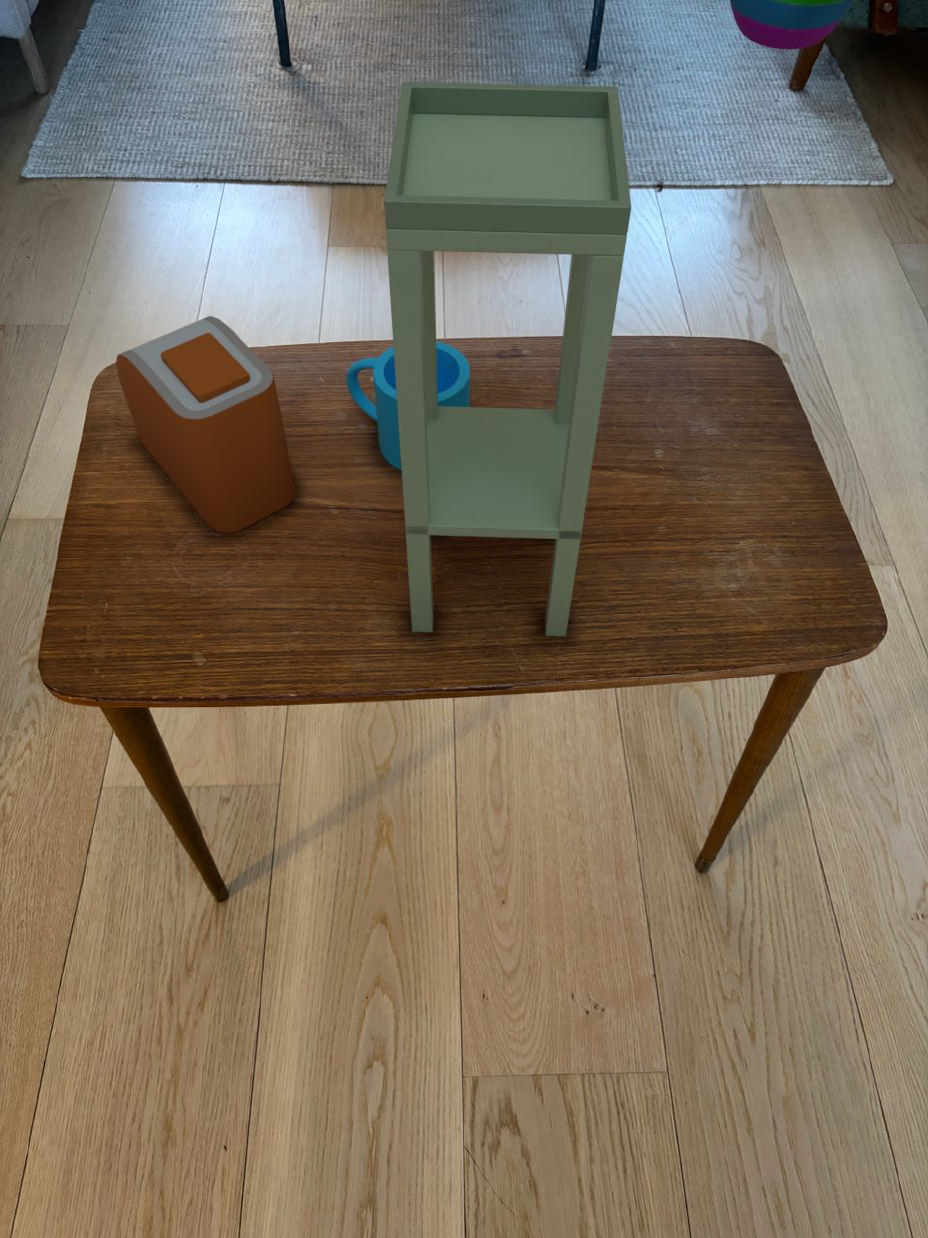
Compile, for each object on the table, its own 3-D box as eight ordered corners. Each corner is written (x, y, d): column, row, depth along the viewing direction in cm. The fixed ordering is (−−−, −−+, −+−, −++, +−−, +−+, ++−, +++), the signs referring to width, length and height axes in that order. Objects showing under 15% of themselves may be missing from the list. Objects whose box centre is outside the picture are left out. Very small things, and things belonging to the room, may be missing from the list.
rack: (562, 521, 84) (617, 85, 55) (565, 636, 77) (631, 206, 48) (421, 517, 84) (402, 80, 55) (412, 631, 77) (383, 200, 48)
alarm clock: (307, 496, 85) (285, 372, 74) (220, 541, 82) (184, 419, 71) (223, 403, 92) (191, 278, 81) (140, 442, 89) (96, 316, 78)
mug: (485, 430, 90) (487, 359, 84) (440, 486, 86) (438, 416, 80) (375, 386, 94) (368, 314, 87) (326, 439, 90) (316, 367, 83)
